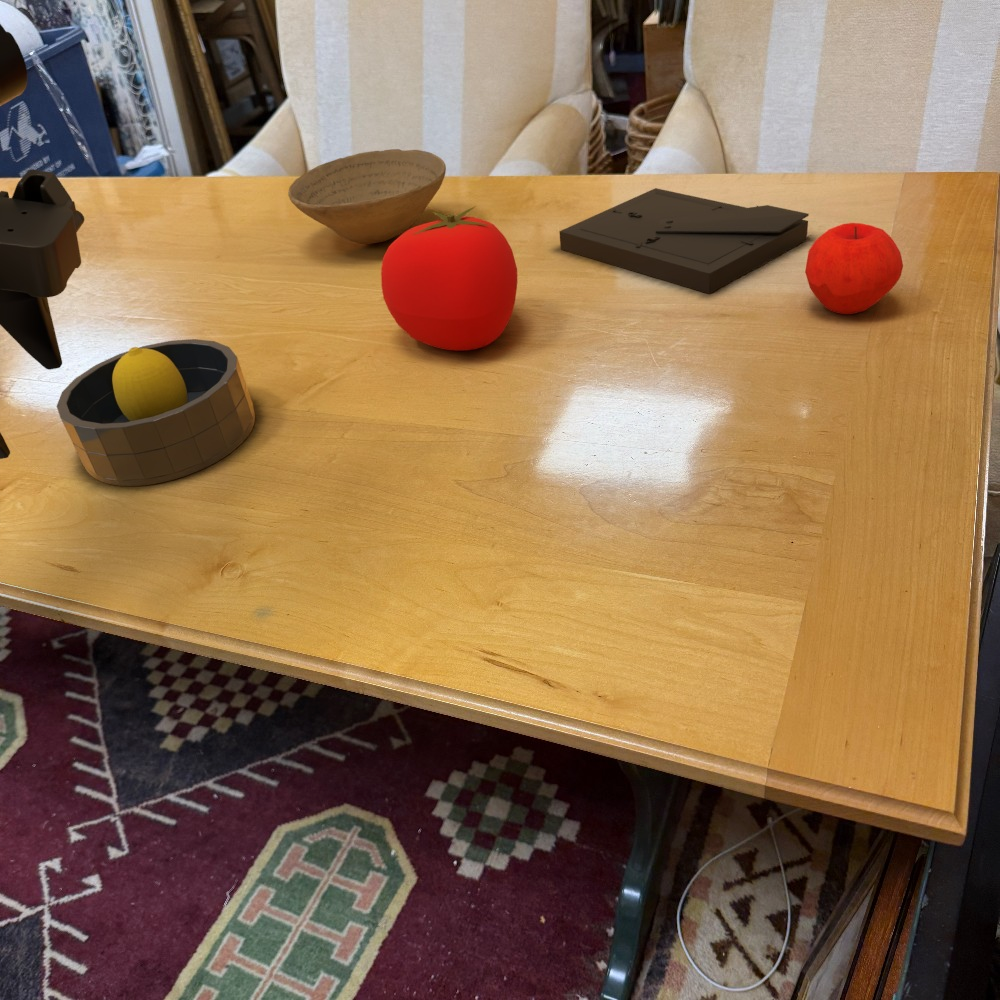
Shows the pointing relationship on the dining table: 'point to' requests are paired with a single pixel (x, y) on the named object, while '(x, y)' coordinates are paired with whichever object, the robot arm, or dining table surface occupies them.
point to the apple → (853, 267)
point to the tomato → (451, 282)
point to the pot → (160, 418)
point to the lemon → (147, 384)
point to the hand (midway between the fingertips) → (30, 409)
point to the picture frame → (686, 238)
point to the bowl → (370, 192)
